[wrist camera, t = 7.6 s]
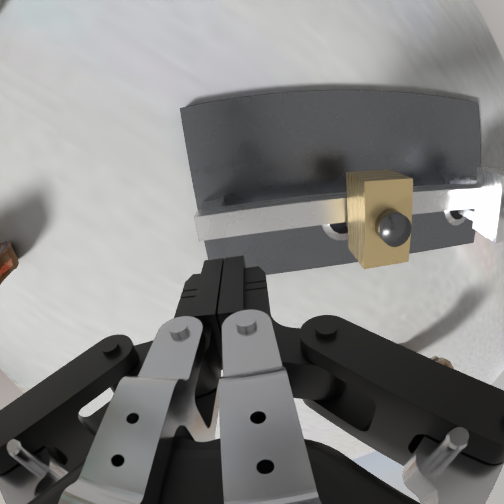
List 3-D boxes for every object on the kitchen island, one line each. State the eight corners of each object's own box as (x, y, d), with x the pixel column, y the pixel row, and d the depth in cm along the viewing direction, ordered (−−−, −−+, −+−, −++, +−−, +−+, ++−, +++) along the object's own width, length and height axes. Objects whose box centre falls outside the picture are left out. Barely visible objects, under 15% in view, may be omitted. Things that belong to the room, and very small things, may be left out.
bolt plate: (182, 108, 19) (179, 108, 18) (471, 102, 18) (479, 102, 17) (214, 275, 25) (212, 282, 24) (468, 238, 24) (474, 243, 23)
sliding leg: (329, 163, 20) (371, 185, 13) (367, 161, 20) (422, 182, 13) (333, 228, 22) (370, 277, 15) (368, 224, 22) (416, 269, 15)
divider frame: (198, 179, 21) (172, 210, 13) (477, 159, 20) (540, 180, 12) (210, 241, 23) (194, 300, 15) (474, 209, 22) (531, 242, 14)
